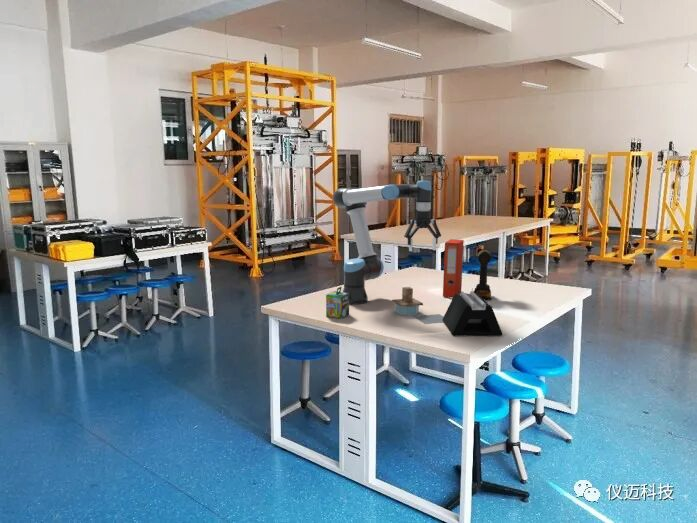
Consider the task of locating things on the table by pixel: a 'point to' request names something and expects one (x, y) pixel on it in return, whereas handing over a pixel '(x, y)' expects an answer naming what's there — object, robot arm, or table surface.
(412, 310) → the bowl
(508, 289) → the table surface
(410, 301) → the lid
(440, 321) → the mat
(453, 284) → the file binder
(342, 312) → the chalk box
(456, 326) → the device stand
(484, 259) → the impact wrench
